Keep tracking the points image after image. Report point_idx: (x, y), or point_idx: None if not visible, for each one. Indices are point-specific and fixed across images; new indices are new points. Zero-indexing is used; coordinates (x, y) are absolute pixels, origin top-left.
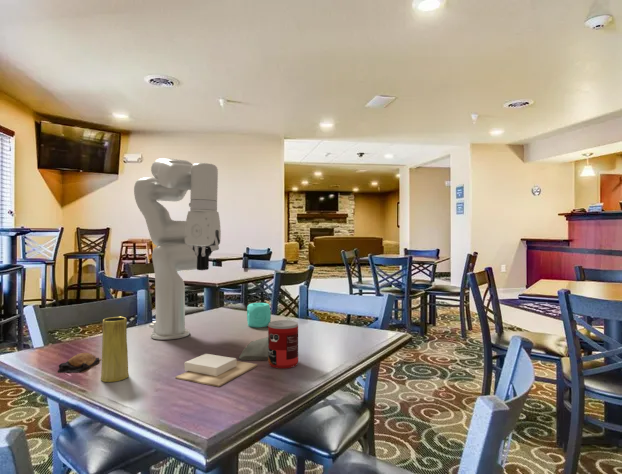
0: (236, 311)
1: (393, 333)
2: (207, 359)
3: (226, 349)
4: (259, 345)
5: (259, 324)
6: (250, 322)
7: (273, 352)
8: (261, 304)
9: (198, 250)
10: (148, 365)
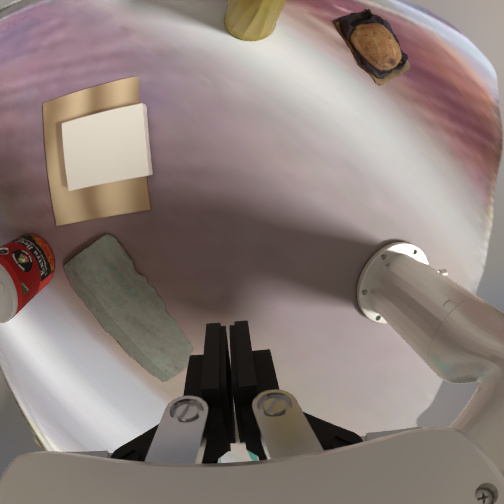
0: None
1: None
2: (112, 146)
3: (193, 275)
4: (126, 314)
5: None
6: None
7: (15, 240)
8: None
9: (263, 440)
10: (257, 95)
